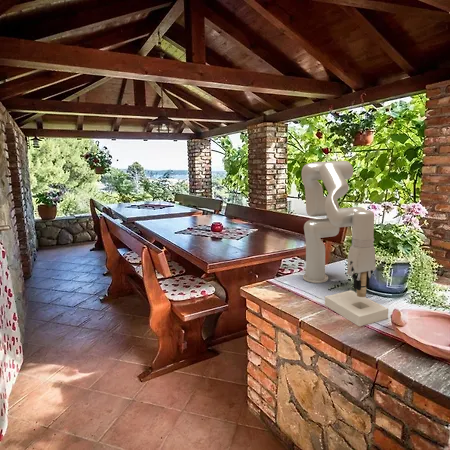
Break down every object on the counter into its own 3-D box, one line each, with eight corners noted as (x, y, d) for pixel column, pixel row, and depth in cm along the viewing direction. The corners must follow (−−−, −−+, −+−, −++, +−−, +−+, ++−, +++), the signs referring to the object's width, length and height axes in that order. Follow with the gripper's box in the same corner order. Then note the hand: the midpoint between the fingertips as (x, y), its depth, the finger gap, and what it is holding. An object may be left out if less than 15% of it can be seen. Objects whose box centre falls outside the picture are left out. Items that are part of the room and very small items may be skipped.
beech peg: (354, 294, 128) (354, 270, 126) (361, 292, 129) (362, 269, 127) (361, 297, 124) (361, 273, 122) (368, 296, 126) (368, 271, 124)
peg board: (324, 305, 138) (324, 296, 137) (350, 298, 143) (351, 290, 142) (359, 326, 120) (359, 316, 119) (387, 318, 125) (388, 308, 124)
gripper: (371, 237, 129) (370, 281, 132) (338, 243, 123) (337, 288, 127) (387, 241, 122) (385, 287, 125) (352, 248, 116) (351, 295, 120)
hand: (361, 287), depth 126 cm, fingers closed on beech peg, 3 cm apart
